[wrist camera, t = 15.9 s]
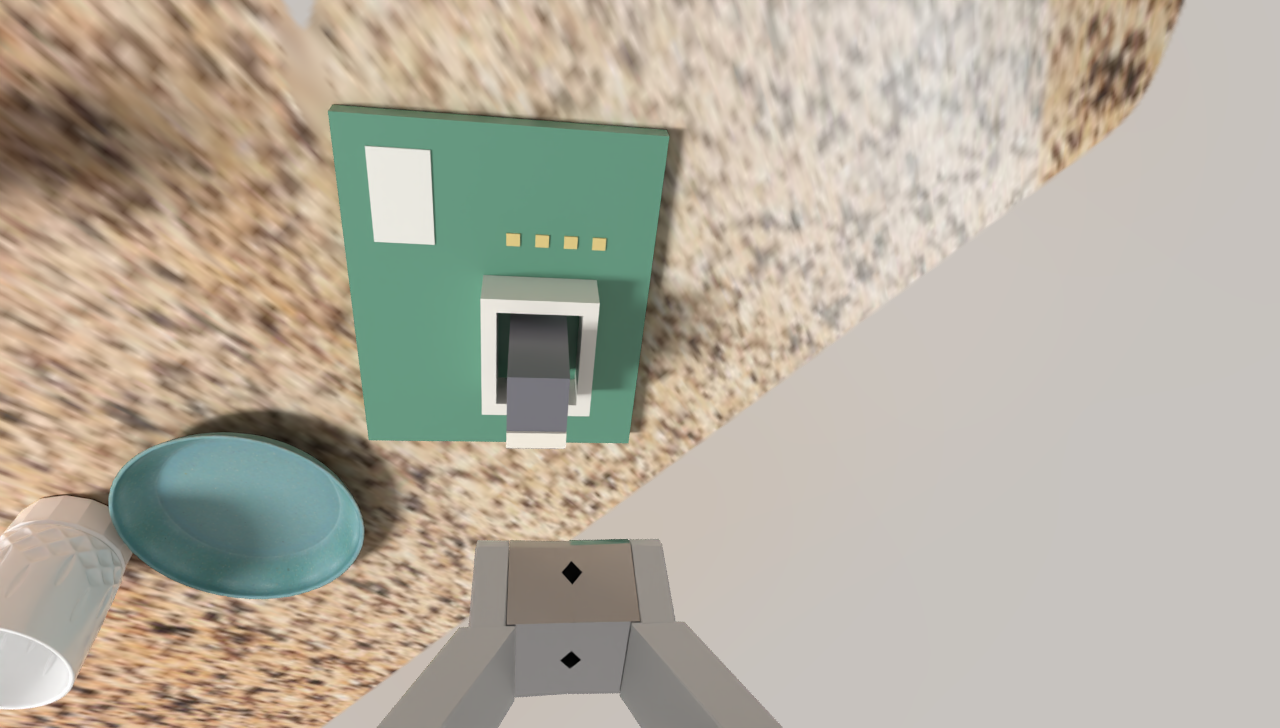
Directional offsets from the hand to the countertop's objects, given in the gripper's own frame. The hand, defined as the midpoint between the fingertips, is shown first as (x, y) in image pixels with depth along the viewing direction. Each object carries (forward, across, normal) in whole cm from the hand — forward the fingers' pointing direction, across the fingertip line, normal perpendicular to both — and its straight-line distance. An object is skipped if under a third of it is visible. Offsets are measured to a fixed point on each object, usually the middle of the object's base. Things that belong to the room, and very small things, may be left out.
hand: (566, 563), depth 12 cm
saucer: (+30, +18, +28) cm, 45 cm away
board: (+29, +2, +12) cm, 32 cm away
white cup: (+29, +29, +31) cm, 52 cm away
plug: (+28, 0, +14) cm, 31 cm away
